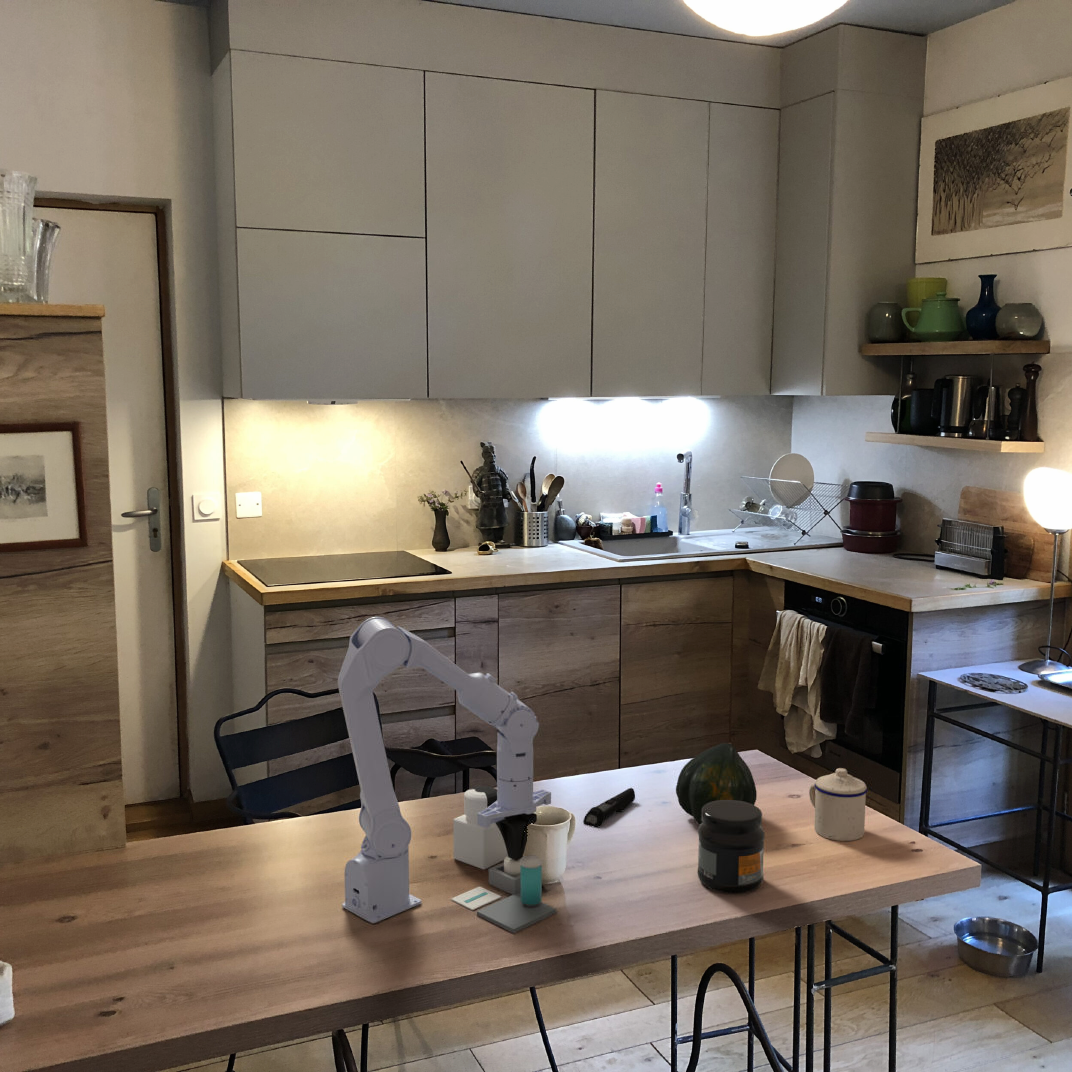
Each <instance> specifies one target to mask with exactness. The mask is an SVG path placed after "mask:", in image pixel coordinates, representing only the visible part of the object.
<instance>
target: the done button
mask: <svg viewBox="0 0 1072 1072" xmlns="http://www.w3.org/2000/svg"><path fill="white" fill-rule="evenodd" d="M503 863H504V873H506V874H509V875H511V876H513V877H517V876H519V875H521V865H520V860H517V861H516V860H514V859H511V858H509V857H508V856H507V857H506V858H504V860H503Z"/></svg>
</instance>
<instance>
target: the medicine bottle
mask: <svg viewBox="0 0 1072 1072" xmlns="http://www.w3.org/2000/svg"><path fill="white" fill-rule="evenodd" d="M463 797H464V798H463V801H464V802H463V804H464V805H463V807H464V809H463V810H464V811H463V812H464V814H462V815H460V816H458V817H455V818H454V819H453V822H452V823H453V827H452V829H453V832H452V833H453V859H454V860H457V861H459V862H462V863H464V864H467V865H470V866H473V867H476V868H478V869H480V870H486V869H489V868H492V866H493V867H494V866H496V864H497V865H498V864H500V862H504V858H506V857H507V856H508V854H507V850H506V846H505V843H504V840H503V837H502V834H501V832H500V830H499V828H498V826H497V825H496V823H493V824H490V827H488V828H484V827H482V826H479V825H478V822H477V813H479V812H482V811H483V810H485V809H486V808H488V807H489V806H490V805H492V804H493V803H494V802H496V801H497V788H495V787H492V786H489V785H477V786H473V787H470V788H468V789H467V790H466V791H465V792H464V794H463Z"/></svg>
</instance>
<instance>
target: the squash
mask: <svg viewBox="0 0 1072 1072" xmlns="http://www.w3.org/2000/svg"><path fill="white" fill-rule="evenodd" d="M675 792H676V797H677V800H678V804H679V807H680V808H681V809H682V810H684V812H685V813H686V814H688V815H689V816H691V817H693V819H694V821H695V823H697V824H698V825H699V826H700V824H701V823H702V808H703V806H704V805H705V804H707V803H709V802H712V801H717V800H737V801H743V802H747V803H750V804H752V805H755V804H756V802H757V794H758V793H757V788H756V784H755V780H754V776H753V773H752V772H751V769H750V767H749V766H748V764H747V763H746V762H745V760H744V759H743V758H742V757H741V754H739V752H738V750H737V749H736V747H735V746H733V744H732V743H731V742H728V743H726V742H725V743H719V744H717V745H714V746H712V747H710V748H708V749H706V750H704V751H702V752H701V753H699V754H697V755H696V756H695V757H693V758H692V759H690V760H689V761H688V762H686V764H685V765H684V766H683V768H682V769H681V771H680V773H679V775H678V778H677V783H676V786H675ZM755 806H756V805H755Z"/></svg>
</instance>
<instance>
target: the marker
mask: <svg viewBox="0 0 1072 1072" xmlns="http://www.w3.org/2000/svg"><path fill="white" fill-rule="evenodd" d="M520 865H521V902H522V903H523V905H524V906H525V907H529V908H533V907H537V906H539V904H540V902H542V895H543V894H542V893H543V891H542V889H543V888H542V883H543V881H542V880H543V879H542V878H543V877H542V874H543V873H542V872H543V871H542V870H543V868H542V867H543V866H542V865H543V859H542V858H541V857H540V856H538V855H531V854H529V855H525V856H524V855H523V857H522V858H521V859H520Z"/></svg>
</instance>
